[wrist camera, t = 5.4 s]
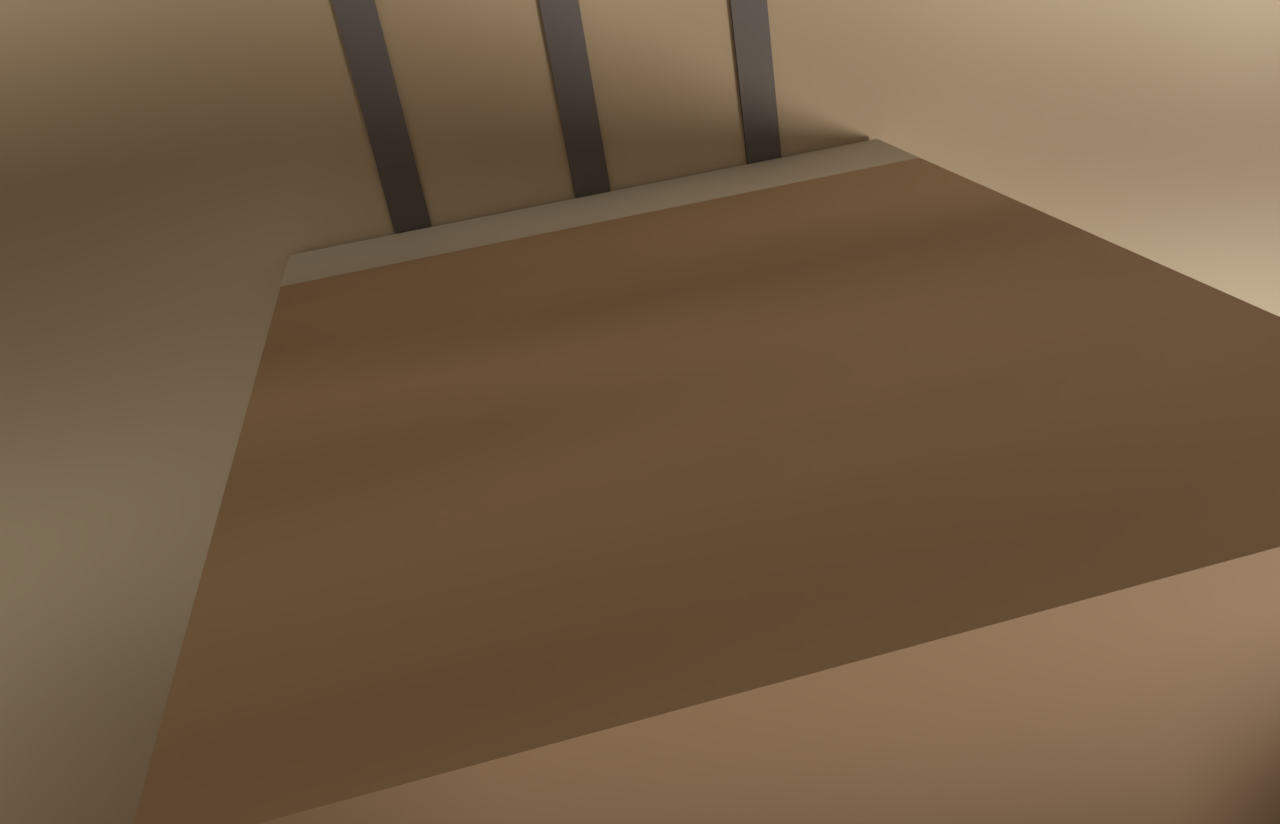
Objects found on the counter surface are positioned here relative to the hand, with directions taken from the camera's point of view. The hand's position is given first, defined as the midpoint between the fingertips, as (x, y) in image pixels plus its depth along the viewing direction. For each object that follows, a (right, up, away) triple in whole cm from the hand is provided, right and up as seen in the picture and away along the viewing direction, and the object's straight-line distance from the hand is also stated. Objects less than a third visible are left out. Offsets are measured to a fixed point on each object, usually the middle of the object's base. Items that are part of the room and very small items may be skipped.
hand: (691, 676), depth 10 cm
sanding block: (0, +1, +1) cm, 1 cm away
